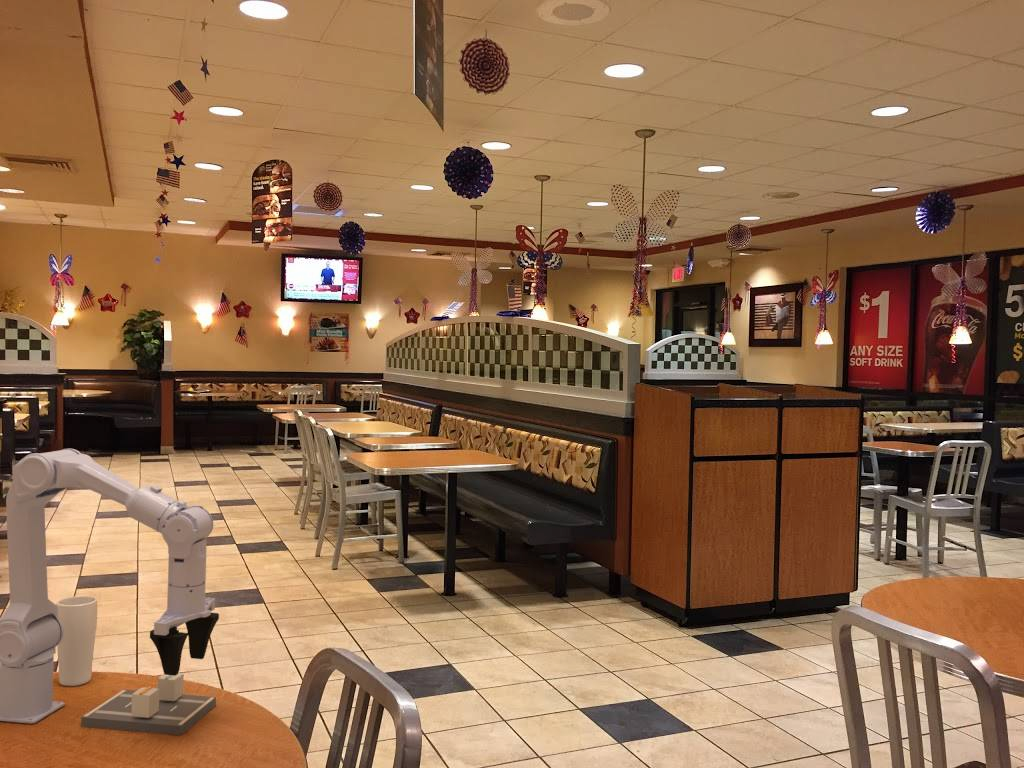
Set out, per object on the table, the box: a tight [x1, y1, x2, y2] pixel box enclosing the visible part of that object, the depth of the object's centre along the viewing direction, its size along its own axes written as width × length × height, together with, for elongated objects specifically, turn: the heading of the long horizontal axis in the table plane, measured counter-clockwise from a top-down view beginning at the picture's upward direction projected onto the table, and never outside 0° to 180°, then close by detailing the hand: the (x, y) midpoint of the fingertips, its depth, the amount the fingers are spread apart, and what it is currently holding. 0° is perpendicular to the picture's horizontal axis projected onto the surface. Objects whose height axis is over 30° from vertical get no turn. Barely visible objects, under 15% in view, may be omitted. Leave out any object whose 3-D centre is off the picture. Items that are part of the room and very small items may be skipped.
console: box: [80, 689, 217, 736], centre depth 142 cm, size 17×12×2 cm
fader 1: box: [131, 685, 159, 718], centre depth 139 cm, size 3×3×4 cm
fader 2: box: [157, 672, 185, 701], centre depth 146 cm, size 3×3×4 cm
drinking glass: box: [55, 595, 98, 687], centre depth 156 cm, size 7×7×15 cm
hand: (184, 666), depth 138 cm, fingers open, 7 cm apart
